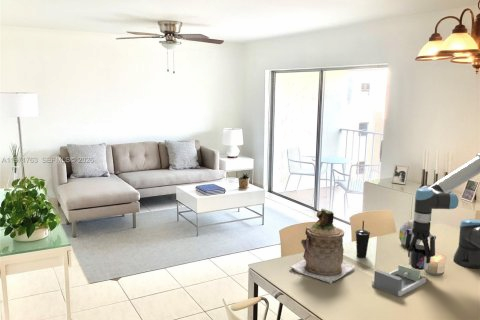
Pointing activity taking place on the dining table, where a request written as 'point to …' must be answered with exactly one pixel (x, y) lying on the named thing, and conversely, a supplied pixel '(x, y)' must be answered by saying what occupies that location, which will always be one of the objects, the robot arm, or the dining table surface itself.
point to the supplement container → (418, 257)
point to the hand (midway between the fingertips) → (418, 266)
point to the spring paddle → (409, 272)
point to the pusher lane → (395, 282)
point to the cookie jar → (323, 250)
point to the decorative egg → (403, 232)
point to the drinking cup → (362, 242)
